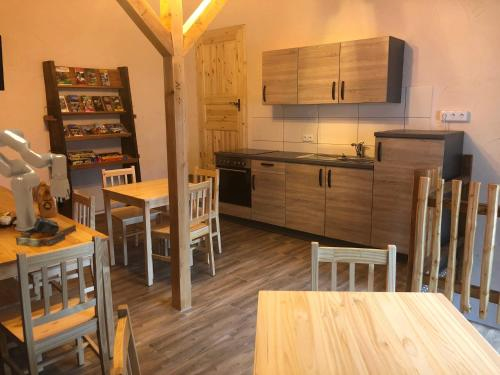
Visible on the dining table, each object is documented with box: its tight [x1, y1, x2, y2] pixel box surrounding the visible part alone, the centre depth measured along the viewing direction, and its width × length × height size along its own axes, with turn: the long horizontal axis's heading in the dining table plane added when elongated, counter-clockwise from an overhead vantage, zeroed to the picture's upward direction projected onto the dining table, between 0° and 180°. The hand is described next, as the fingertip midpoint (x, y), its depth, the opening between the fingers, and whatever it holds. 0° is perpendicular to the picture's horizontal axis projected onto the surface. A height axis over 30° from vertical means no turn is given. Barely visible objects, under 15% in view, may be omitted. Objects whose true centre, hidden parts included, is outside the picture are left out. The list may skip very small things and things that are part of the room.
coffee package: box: [37, 180, 57, 219], centre depth 269 cm, size 10×12×22 cm
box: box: [34, 216, 60, 237], centre depth 232 cm, size 8×6×11 cm
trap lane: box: [15, 224, 77, 248], centre depth 229 cm, size 24×27×4 cm
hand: (61, 208), depth 240 cm, fingers closed
